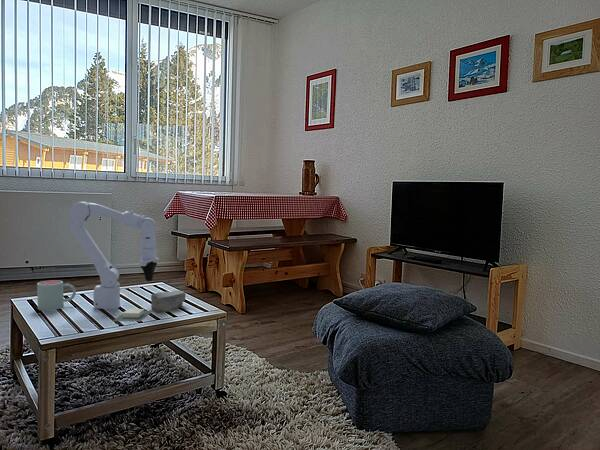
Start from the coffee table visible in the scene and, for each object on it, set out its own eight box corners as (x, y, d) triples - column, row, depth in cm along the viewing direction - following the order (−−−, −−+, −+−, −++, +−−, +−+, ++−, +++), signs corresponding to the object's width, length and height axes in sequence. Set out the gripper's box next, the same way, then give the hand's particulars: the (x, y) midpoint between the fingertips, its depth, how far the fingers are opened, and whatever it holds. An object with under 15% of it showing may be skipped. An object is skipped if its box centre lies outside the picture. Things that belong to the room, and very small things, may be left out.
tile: (128, 313, 183) (122, 317, 177) (128, 308, 182) (122, 313, 177) (144, 313, 183) (138, 318, 177) (144, 309, 182) (138, 313, 176)
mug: (37, 311, 185) (36, 286, 184) (38, 305, 193) (37, 281, 192) (76, 307, 191) (76, 283, 190) (75, 302, 199) (75, 278, 198)
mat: (112, 322, 173) (112, 320, 173) (127, 311, 187) (127, 310, 187) (140, 323, 173) (140, 321, 173) (152, 312, 187) (152, 311, 186)
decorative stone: (144, 313, 186) (166, 315, 183) (144, 296, 186) (165, 297, 182) (168, 305, 200) (188, 307, 196) (167, 288, 200) (188, 290, 196)
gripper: (152, 250, 187) (153, 284, 188) (163, 245, 202) (164, 277, 203) (134, 250, 187) (135, 284, 189) (146, 245, 202) (147, 276, 203)
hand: (149, 280), depth 196 cm, fingers closed
